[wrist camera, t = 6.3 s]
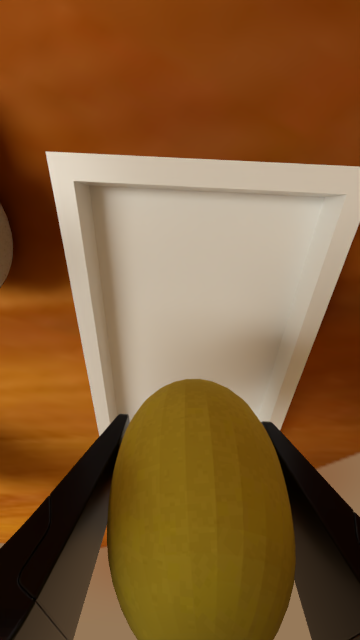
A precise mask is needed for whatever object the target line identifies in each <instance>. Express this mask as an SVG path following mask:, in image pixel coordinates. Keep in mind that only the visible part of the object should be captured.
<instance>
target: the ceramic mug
mask: <svg viewBox="0 0 360 640" xmlns="http://www.w3.org/2000/svg"><path fill="white" fill-rule="evenodd" d="M12 259H13V238H12V233H11V229H10V225H9V221H8V218H7V216H6V214H5V212H4V210H3V208H2V205H1V203H0V287H1V286H2V284H3V283H4V281H5V279H6V278H7V276H8V273H9V270H10V267H11V263H12Z"/></svg>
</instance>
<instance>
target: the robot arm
mask: <svg viewBox="0 0 360 640" xmlns="http://www.w3.org/2000/svg"><path fill="white" fill-rule="evenodd" d="M129 423H130V420H129V415H128V414H119V415H117V417H116V418H115V419H114V420H113V421H112V422H111V424H110V425H109V426H108V427H107V428H106V429H105V431H104V432H103V433H102V434H101V435H100V436H99V438H98V439H97V440H96V441H95V442H94V443H93V445H92V446H91V447H90V448H89V449H88V450H87V452H86V453H85V454H84V455H83V456H82V457H81V459H80V460H79V461H78V462H77V463H76V464H75V466H74V467H73V468H72V469H71V470H70V471H69V473H68V474H67V475H66V476H65V477H64V478H63V480H62V481H61V482H60V483H59V484H58V485H57V487H56V488H55V489H54V490H53V491H52V492H51V494H50V496H48V497H47V498H46V499H45V500H44V502H43V503H42V504H41V505H40V506H39V508H38V509H37V510H36V511H35V512H34V513H33V514H32V515H31V516H30V518H29V519H28V520H27V521H26V522H25V523H24V524H23V525H22V526H21V528H20V529H19V530H18V531H17V532H16V533H15V534H14V535H13V536H12V537H11V538H10V539H9V540H8V541H7V542H6V543H5V544H4V545H3V546H2V547H1V548H0V640H73V638H74V635H75V631H76V628H77V624H78V621H79V617H80V614H81V611H82V607H83V604H84V601H85V597H86V594H87V590H88V587H89V584H90V580H91V577H92V573H93V570H94V567H95V563H96V560H97V556H98V553H99V550H100V546H101V543H102V539H103V536H104V533H105V529H106V526H107V519H108V504H109V494H110V487H111V481H112V475H113V471H114V466H115V463H116V459H117V455H118V452H119V448H120V445H121V442H122V439H123V437H124V434H125V431H126V429H127V427H128V425H129ZM261 423H262V425H263V426H264V428H265V430H266V431H267V433H268V435H269V437H270V439H271V441H272V443H273V446H274V448H275V451H276V453H277V456H278V459H279V462H280V465H281V469H282V473H283V476H284V480H285V484H286V488H287V492H288V497H289V502H290V507H291V513H292V520H293V527H294V536H295V556H296V565H295V575H294V580H295V583H296V587H297V590H298V594H299V597H300V600H301V604H302V608H303V611H304V614H305V617H306V621H307V625H308V628H309V631H310V635H311V638H312V640H360V517H359V516H358V515H357V514H356V513H355V512H353V509H351V507H350V506H349V505H348V504H347V503H346V502H345V501H344V500H343V499H342V498H341V497H340V495H339V494H338V493H337V492H336V491H335V490H334V489H333V488H332V487H331V486H330V485H329V484H328V482H327V481H326V480H325V479H324V478H323V477H322V476H321V475H320V474H319V473H318V472H317V470H316V469H315V468H314V467H313V466H312V465H311V464H310V463H309V462H308V461H307V460H306V458H305V457H304V456H303V455H302V454H301V453H300V452H299V451H298V450H297V449H296V448H295V447H294V445H293V444H292V443H291V442H290V441H289V440H288V439H287V438H286V437H285V436H284V435H283V434H282V432H281V431H280V430H279V429H278V428H277V427H276V426H275V425H274V424H273V423H272V422H269V421H262V422H261Z"/></svg>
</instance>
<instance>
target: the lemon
mask: <svg viewBox="0 0 360 640" xmlns="http://www.w3.org/2000/svg"><path fill="white" fill-rule="evenodd" d="M107 547H108V559H109V566H110V571H111V577H112V582H113V585H114V589H115V592H116V595H117V598H118V601H119V604H120V607H121V610H122V612H123V614H124V616H125V618H126V620H127V622H128V624H129V626H130V628H131V630H132V631H133V633H134V635H135V636H136V638H137V639H138V640H273V639H274V637H275V636H276V634H277V632H278V630H279V628H280V625H281V623H282V620H283V618H284V615H285V613H286V610H287V608H288V605H289V601H290V597H291V593H292V589H293V585H294V575H295V565H296V556H295V536H294V527H293V520H292V513H291V507H290V502H289V497H288V492H287V488H286V484H285V480H284V476H283V473H282V469H281V465H280V462H279V459H278V456H277V453H276V451H275V448H274V446H273V443H272V441H271V439H270V437H269V435H268V433H267V431H266V430H265V428H264V426H263V425H262V423H261V422H260V420H259V419H258V417H257V416H256V415H255V413H254V412H253V411H252V409H251V408H250V407H249V405H248V404H247V403H246V402H245V401H244V400H243V399H242V398H241V397H239V396H238V395H236V394H235V393H234V392H232V391H231V390H230V389H228V388H227V387H224V386H222V385H220V384H217V383H215V382H213V381H208V380H203V379H185V380H180V381H175V382H173V383H171V384H168V385H166V386H164V387H162V388H160V389H159V390H158V391H156V392H155V393H154V394H152V395H151V396H150V397H149V398H148V399H146V400H145V402H144V403H143V404H142V405H141V407H140V408H139V410H138V411H137V412H136V414H135V415H134V417H133V418H132V420H131V422H130V423H129V425H128V427H127V429H126V431H125V434H124V437H123V439H122V442H121V445H120V448H119V452H118V455H117V459H116V463H115V466H114V471H113V475H112V481H111V487H110V494H109V504H108V519H107Z"/></svg>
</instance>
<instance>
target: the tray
mask: <svg viewBox="0 0 360 640" xmlns="http://www.w3.org/2000/svg"><path fill="white" fill-rule="evenodd" d="M46 156H47V162H48V167H49V172H50V178H51V183H52V188H53V193H54V199H55V204H56V209H57V215H58V220H59V225H60V230H61V236H62V241H63V246H64V252H65V257H66V262H67V267H68V273H69V278H70V283H71V288H72V294H73V299H74V304H75V310H76V315H77V320H78V325H79V331H80V336H81V341H82V347H83V352H84V357H85V362H86V368H87V373H88V378H89V384H90V389H91V394H92V399H93V405H94V410H95V415H96V421H97V426H98V431H99V436H100V435H101V434H102V433H103V432H104V431H105V429H106V428H107V427H108V426H109V425H110V424H111V422H112V421H113V420H114V419H115V418H116V417H117V415H119V414H128V415H129V420H130V422H131V420H132V418H133V417H134V415H135V414H136V412H137V411H138V410H139V408H140V407H141V405H142V404H143V403H144V402H145V400H146V399H148V398H149V397H150V396H151V395H152V394H154V393H155V392H156V391H158V390H159V389H160V388H162V387H164V386H166V385H168V384H171V383H173V382H175V381H180V380H185V379H203V380H208V381H213V382H215V383H217V384H220V385H222V386H224V387H227V388H228V389H230V390H231V391H232V392H234V393H235V394H236V395H238V396H239V397H241V398H242V399H243V400H244V401H245V402H246V403H247V404H248V405H249V407H250V408H251V409H252V411H253V412H254V413H255V415H256V416H257V417H258V419H259V420H260V422H262V421H269V422H272V423H273V424H274V425H275V426H276V427H277V428H278V429H279V430H280V429H281V427H282V424H283V421H284V419H285V416H286V414H287V411H288V408H289V406H290V403H291V400H292V398H293V395H294V393H295V390H296V387H297V385H298V382H299V380H300V377H301V374H302V372H303V369H304V366H305V364H306V361H307V359H308V356H309V353H310V351H311V348H312V346H313V343H314V340H315V338H316V335H317V332H318V330H319V327H320V325H321V322H322V319H323V317H324V314H325V312H326V309H327V306H328V304H329V301H330V298H331V296H332V293H333V291H334V288H335V285H336V283H337V280H338V278H339V275H340V272H341V270H342V267H343V264H344V262H345V259H346V257H347V254H348V251H349V249H350V246H351V244H352V241H353V238H354V236H355V233H356V231H357V228H358V225H359V223H360V167H355V166H334V165H313V164H292V163H272V162H251V161H230V160H209V159H189V158H168V157H147V156H126V155H106V154H85V153H64V152H46Z"/></svg>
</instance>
